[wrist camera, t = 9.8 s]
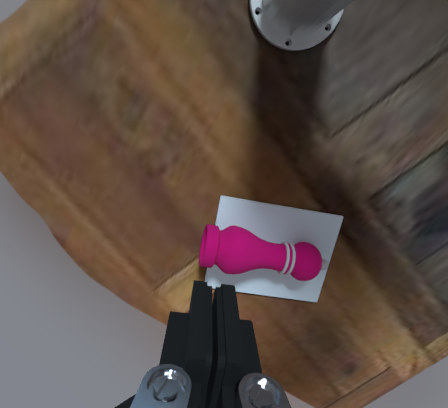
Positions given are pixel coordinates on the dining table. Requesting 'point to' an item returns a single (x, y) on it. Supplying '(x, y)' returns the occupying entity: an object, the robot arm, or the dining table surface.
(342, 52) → the dining table surface
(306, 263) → the pepper mill
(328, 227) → the mat
